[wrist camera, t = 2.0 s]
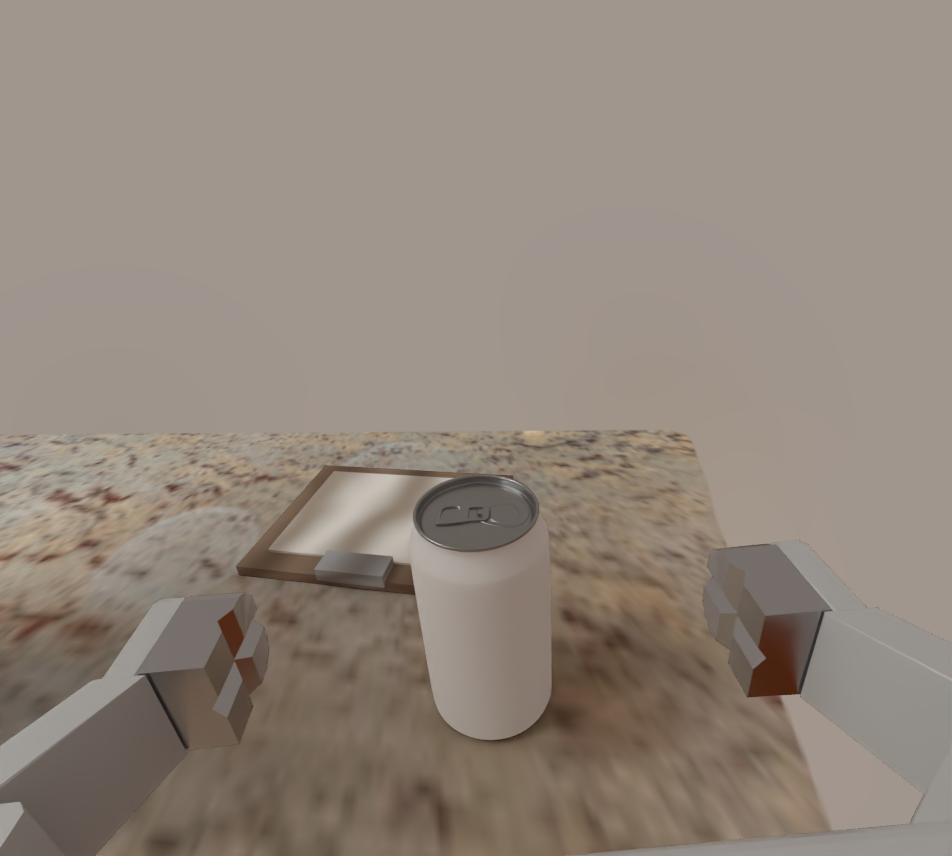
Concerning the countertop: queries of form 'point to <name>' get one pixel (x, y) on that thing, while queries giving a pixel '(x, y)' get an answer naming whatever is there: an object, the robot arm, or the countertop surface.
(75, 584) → the countertop surface
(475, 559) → the can
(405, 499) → the clipboard
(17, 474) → the countertop surface
